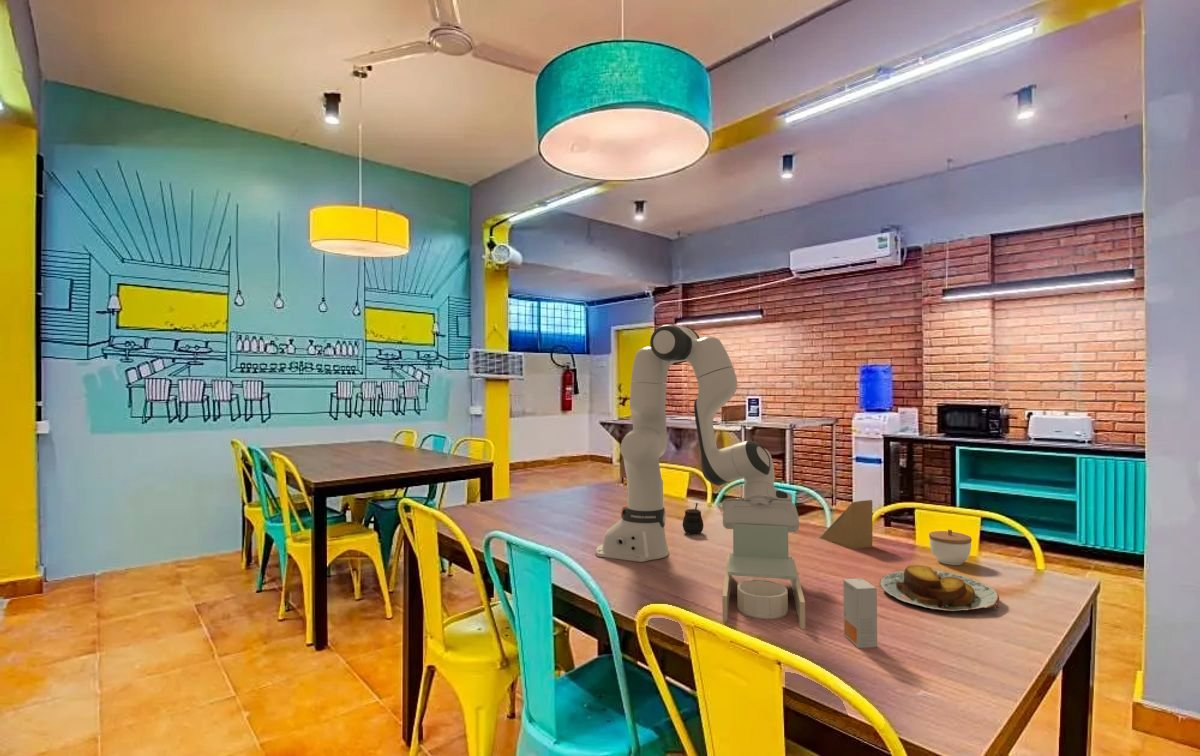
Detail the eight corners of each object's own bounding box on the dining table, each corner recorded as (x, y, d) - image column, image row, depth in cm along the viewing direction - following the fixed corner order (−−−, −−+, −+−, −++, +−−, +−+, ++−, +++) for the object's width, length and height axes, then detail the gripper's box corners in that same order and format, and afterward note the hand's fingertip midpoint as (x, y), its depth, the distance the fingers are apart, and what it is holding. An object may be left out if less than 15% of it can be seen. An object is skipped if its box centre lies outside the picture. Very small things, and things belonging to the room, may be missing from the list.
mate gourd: (680, 535, 208) (680, 506, 208) (685, 529, 215) (684, 501, 215) (701, 536, 205) (701, 507, 205) (705, 531, 212) (705, 503, 212)
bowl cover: (727, 575, 146) (727, 538, 146) (729, 556, 162) (729, 523, 162) (796, 579, 142) (796, 542, 142) (791, 560, 158) (791, 526, 158)
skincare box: (842, 635, 125) (842, 578, 125) (862, 635, 126) (862, 577, 126) (857, 648, 119) (857, 588, 119) (878, 647, 120) (877, 587, 120)
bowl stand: (722, 621, 133) (722, 595, 133) (727, 575, 164) (727, 554, 164) (805, 629, 129) (805, 602, 129) (794, 580, 160) (794, 559, 160)
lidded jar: (931, 565, 172) (931, 532, 172) (927, 555, 182) (926, 524, 182) (975, 569, 168) (974, 536, 168) (967, 558, 178) (967, 527, 178)
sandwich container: (837, 535, 206) (837, 491, 206) (873, 546, 192) (873, 499, 192) (818, 538, 203) (817, 493, 203) (852, 549, 189) (852, 502, 189)
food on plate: (1024, 611, 139) (1024, 582, 139) (936, 623, 132) (936, 593, 132) (936, 576, 163) (936, 552, 163) (858, 585, 157) (858, 560, 157)
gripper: (721, 491, 170) (720, 534, 161) (797, 494, 165) (800, 538, 156) (722, 503, 175) (721, 546, 165) (796, 506, 170) (799, 551, 160)
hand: (760, 542), depth 160 cm, fingers closed, pressing on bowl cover
